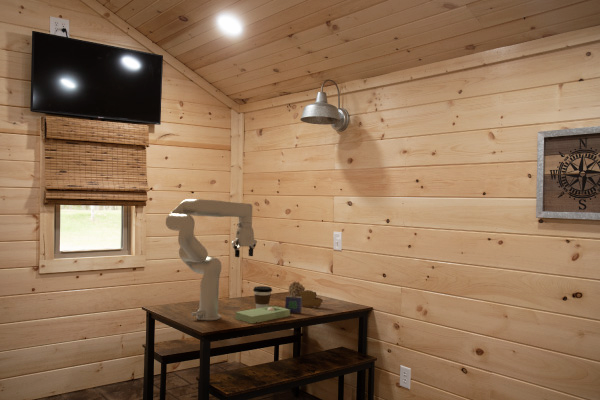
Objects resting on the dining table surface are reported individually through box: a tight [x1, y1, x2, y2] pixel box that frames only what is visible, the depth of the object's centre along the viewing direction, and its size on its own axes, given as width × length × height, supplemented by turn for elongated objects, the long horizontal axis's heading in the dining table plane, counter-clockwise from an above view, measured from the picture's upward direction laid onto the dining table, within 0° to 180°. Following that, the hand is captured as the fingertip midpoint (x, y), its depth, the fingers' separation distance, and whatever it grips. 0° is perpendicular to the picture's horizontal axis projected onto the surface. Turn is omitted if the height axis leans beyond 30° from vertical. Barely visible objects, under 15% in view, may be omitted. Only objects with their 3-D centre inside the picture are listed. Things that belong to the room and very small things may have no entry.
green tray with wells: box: [234, 305, 291, 324], centre depth 266 cm, size 27×13×3 cm, turn 136°
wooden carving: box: [299, 289, 324, 309], centre depth 296 cm, size 16×5×10 cm, turn 75°
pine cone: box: [288, 281, 306, 297], centre depth 322 cm, size 22×10×10 cm, turn 34°
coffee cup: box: [252, 285, 273, 309], centre depth 287 cm, size 11×11×12 cm
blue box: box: [284, 294, 303, 315], centre depth 280 cm, size 9×3×11 cm, turn 80°
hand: (244, 256), depth 279 cm, fingers open, 9 cm apart
